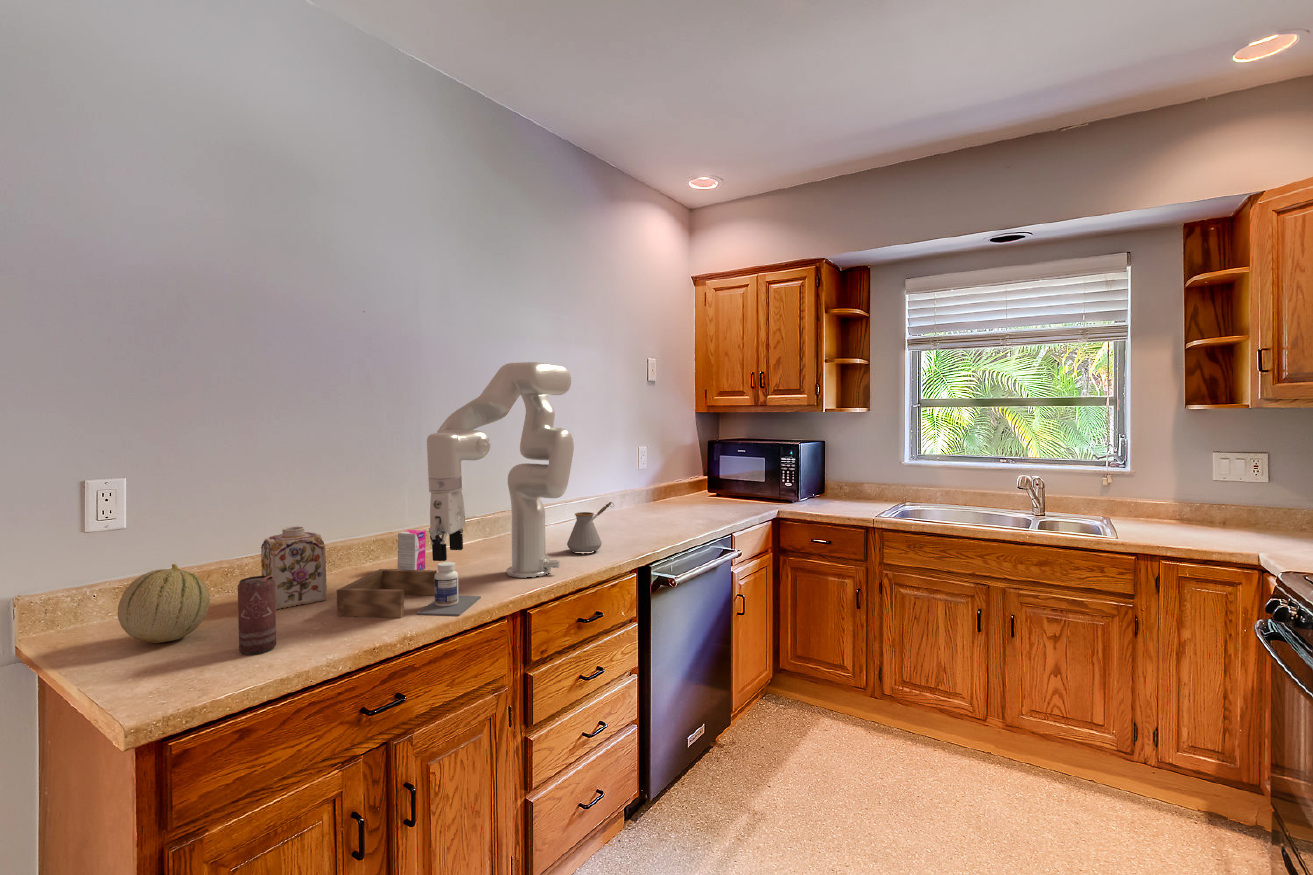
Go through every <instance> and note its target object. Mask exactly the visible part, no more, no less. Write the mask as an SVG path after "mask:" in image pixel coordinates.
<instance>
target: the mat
mask: <svg viewBox="0 0 1313 875" xmlns="http://www.w3.org/2000/svg"><path fill="white" fill-rule="evenodd" d="M481 598H482V596H481V595H458V603H457V604H455V605H453V606H446V607H440V606H437V605H436V604H435V600H433V601H432V602H430V603H429V604H427V605H426V606H425V607H423V608H422V609H420V610H419V611H417V612H416V615H417V616H418V615H421V616H446V617H447V616H449V617H450V616H451V617H452V616H455V617H456V616H457V617H459V616H461V615H462V614H463V613H465V612H466V611H467V610H469V608H471V607H472V606H473V605H474V604H476V602H478V601H479V600H480V599H481Z"/></svg>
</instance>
